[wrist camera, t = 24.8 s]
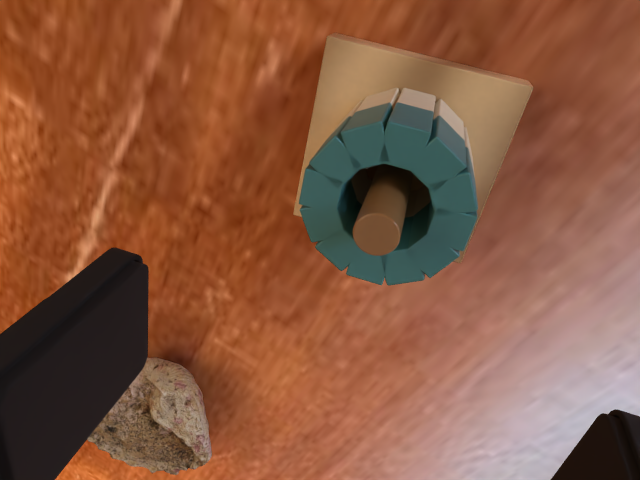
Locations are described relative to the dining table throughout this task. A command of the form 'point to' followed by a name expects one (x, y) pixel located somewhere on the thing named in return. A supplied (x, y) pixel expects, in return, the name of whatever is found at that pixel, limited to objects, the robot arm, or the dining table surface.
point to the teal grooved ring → (403, 152)
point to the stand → (445, 83)
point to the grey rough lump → (158, 421)
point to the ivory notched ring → (415, 99)
